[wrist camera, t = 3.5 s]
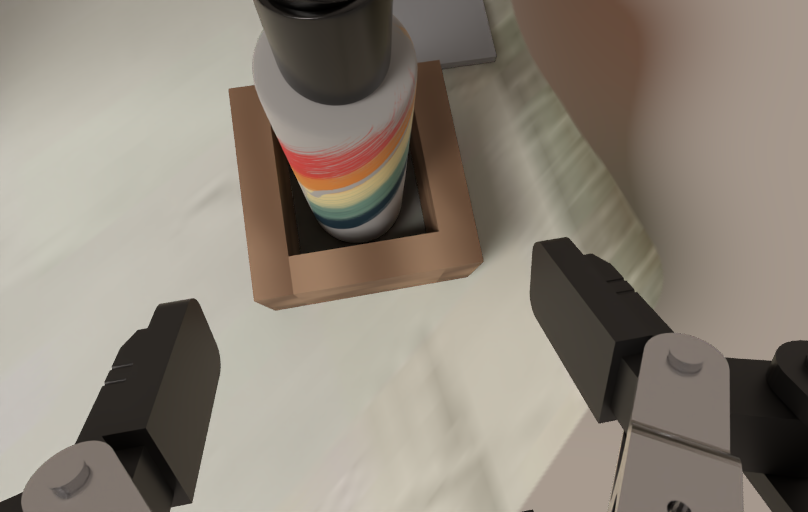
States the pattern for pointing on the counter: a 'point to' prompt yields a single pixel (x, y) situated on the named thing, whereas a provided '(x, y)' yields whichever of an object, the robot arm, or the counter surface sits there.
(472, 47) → the rubber mat
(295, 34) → the lotion bottle
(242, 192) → the bottle holder
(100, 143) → the counter surface
